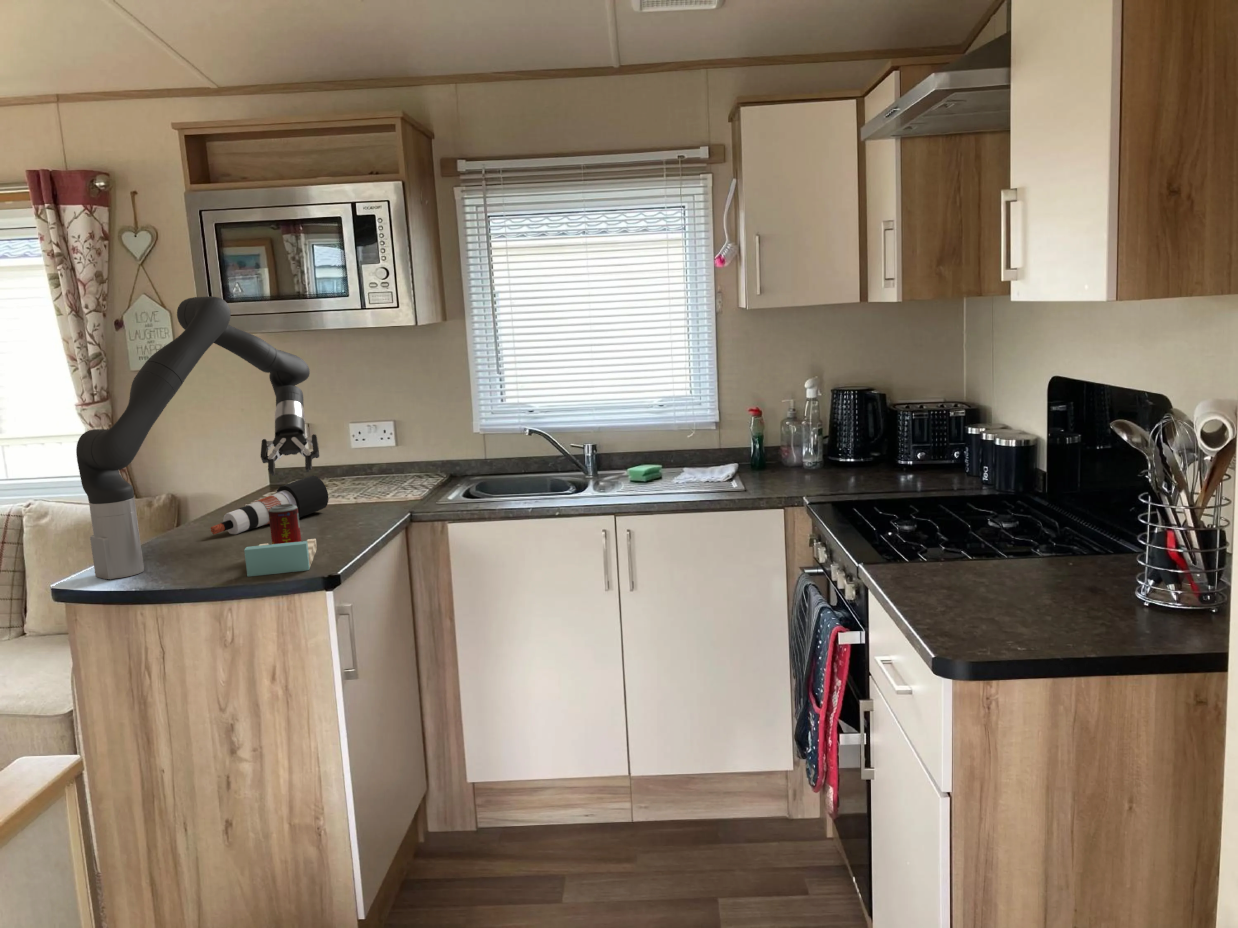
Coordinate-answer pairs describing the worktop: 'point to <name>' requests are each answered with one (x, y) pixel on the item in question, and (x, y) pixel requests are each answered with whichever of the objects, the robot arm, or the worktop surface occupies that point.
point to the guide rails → (311, 549)
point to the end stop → (277, 558)
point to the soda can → (284, 524)
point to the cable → (300, 493)
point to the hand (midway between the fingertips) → (290, 472)
